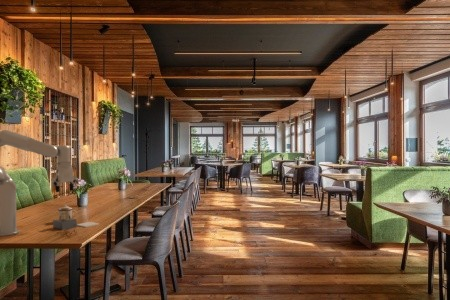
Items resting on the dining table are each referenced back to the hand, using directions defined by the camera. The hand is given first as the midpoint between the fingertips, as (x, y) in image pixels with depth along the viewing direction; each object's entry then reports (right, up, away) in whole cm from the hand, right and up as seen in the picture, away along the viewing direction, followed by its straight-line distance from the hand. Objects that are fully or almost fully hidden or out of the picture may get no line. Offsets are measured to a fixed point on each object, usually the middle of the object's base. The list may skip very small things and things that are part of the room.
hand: (64, 191), depth 230 cm
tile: (+12, -23, +7) cm, 27 cm away
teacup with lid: (-6, -24, +18) cm, 30 cm away
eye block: (0, -24, 0) cm, 24 cm away
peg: (0, -24, 0) cm, 24 cm away
